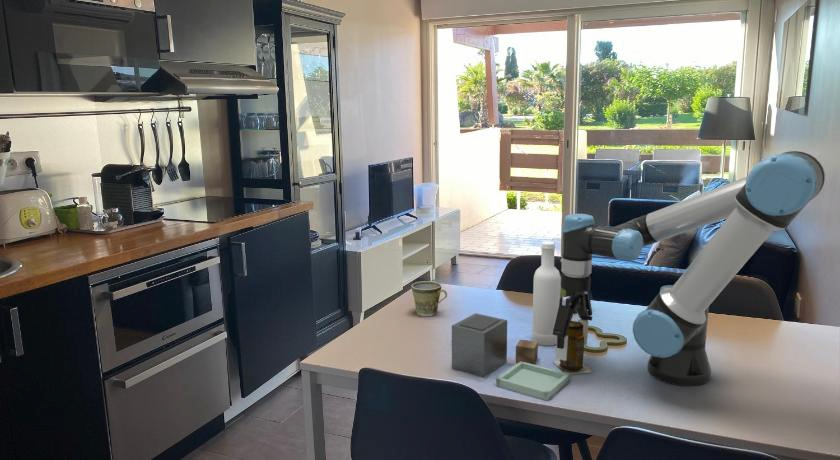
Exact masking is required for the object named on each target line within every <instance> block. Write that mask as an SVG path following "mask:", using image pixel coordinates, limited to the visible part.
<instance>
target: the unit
mask: <svg viewBox="0 0 840 460" xmlns="http://www.w3.org/2000/svg"><path fill="white" fill-rule="evenodd" d="M451 341H452V342H451V369H453V370H457V371H460V372H464V373H467V374H471V375H474V376H477V377H482V378H486V377H487V376H488V375H490V374H492V373H493V372H494V371H496V370H497V369H498V368H500V367H502V366H503V365H504V364H506V363H507V362H508V361H507V358H508V357H507V355H508V351H507V350H508V319H503V318H499V317H495V316H491V315H484V314H481V313H474V314H472V315H470V316H467V317H466V318H464V319H462V320H460V321H458V322H456V323H455V324H452V325H451Z"/></svg>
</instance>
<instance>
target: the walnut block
mask: <svg viewBox="0 0 840 460" xmlns="http://www.w3.org/2000/svg"><path fill="white" fill-rule="evenodd" d="M538 350H539V345H538V342H536V341H532V340H526V339H519V340H518V341H517V343H516V345H515V364H517V363H519V362H520V361H522V362H526V363H530V364H533V365H536V362H537V360H538V358H539V357H538V354H539V351H538Z"/></svg>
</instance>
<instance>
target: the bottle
mask: <svg viewBox="0 0 840 460" xmlns="http://www.w3.org/2000/svg"><path fill="white" fill-rule="evenodd" d="M540 249H541V259H540V260H541V262H540V264H541V265H540V266H539V267H537V269H536V270H535V272H534V275H533V288H532V289H533V294H532V296H533V297H532V327H531V328H532V329H531V336H532V337H531V339H532V340H531V341H536V342H538V346H544V347H547V346H549V347H551V346H556V342H557V336H556V335H553V329H554V325H555V321H556V317H557V312H558V308H559V301H560V297H561V273H560V271H559V269H557V267H556V266H555V250H556V247H555V242H554V241H550V240H546V241H542V242H541V247H540Z"/></svg>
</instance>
